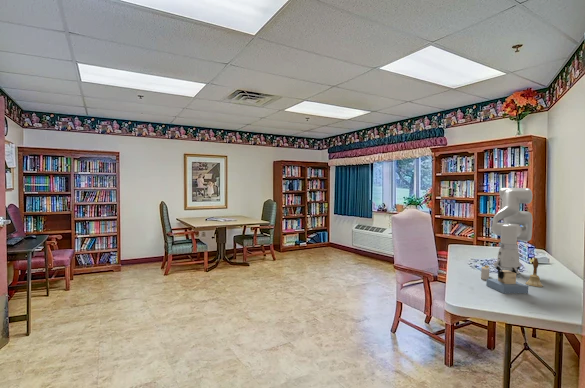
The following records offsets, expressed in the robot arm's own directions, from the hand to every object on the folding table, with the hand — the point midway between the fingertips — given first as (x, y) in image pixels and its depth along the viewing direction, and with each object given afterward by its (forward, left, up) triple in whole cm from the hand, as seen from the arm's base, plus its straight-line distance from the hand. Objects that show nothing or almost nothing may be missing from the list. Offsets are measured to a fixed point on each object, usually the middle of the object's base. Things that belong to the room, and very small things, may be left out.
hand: (507, 277), depth 183 cm
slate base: (0, 0, -7) cm, 7 cm away
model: (-23, +3, -7) cm, 25 cm away
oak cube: (0, 0, -3) cm, 3 cm away
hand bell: (-9, +24, -7) cm, 27 cm away
